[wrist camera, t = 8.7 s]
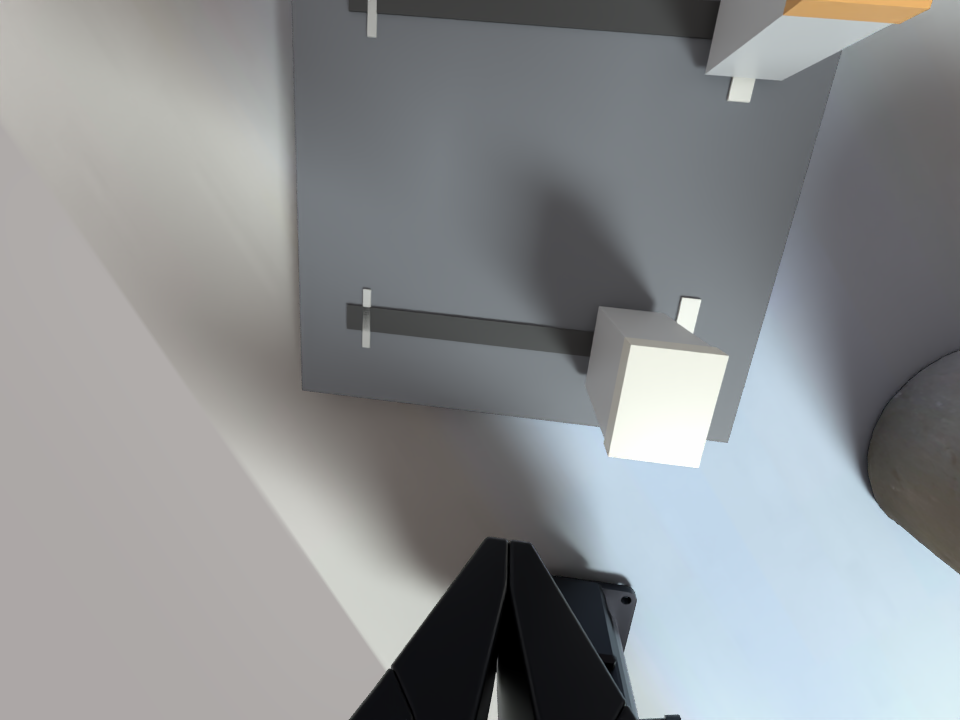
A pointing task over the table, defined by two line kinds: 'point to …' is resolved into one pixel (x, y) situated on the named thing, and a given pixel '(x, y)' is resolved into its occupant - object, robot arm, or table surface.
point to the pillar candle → (922, 458)
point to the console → (532, 194)
